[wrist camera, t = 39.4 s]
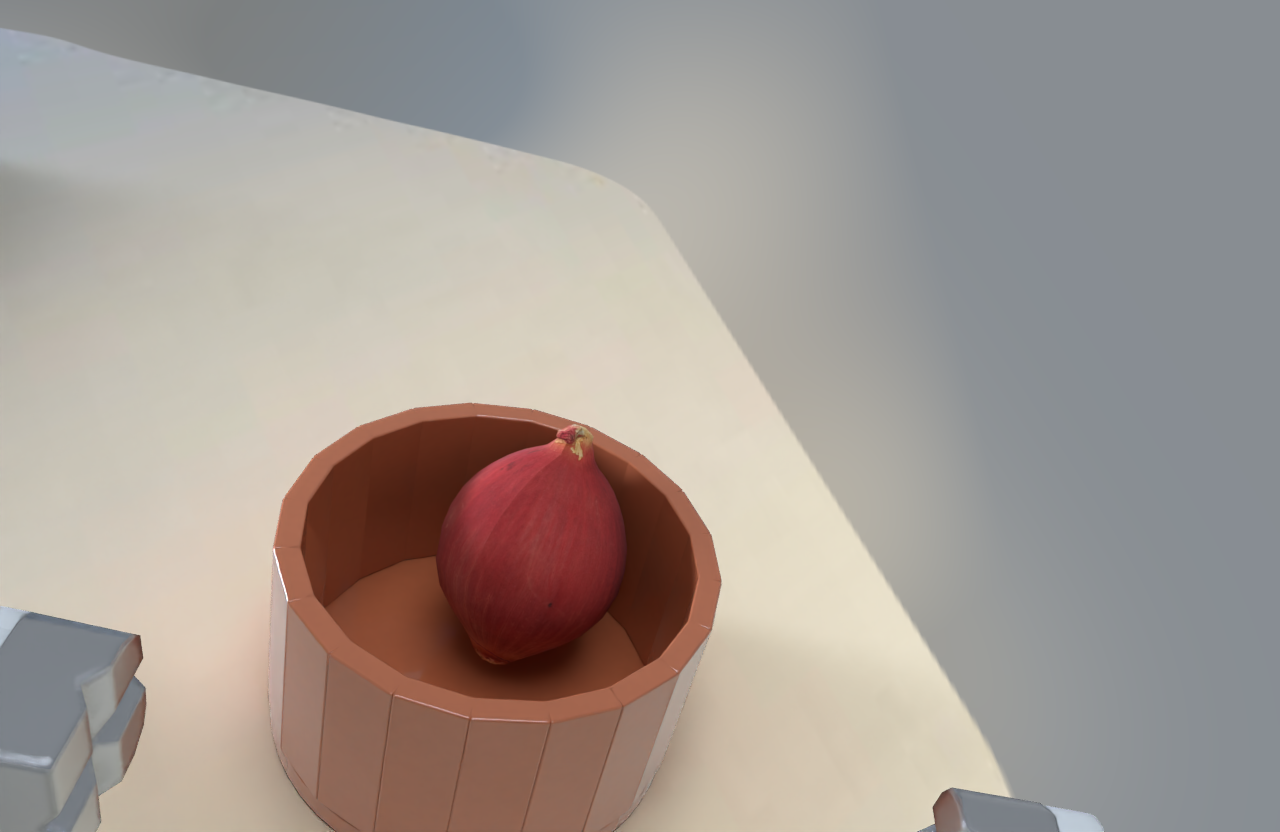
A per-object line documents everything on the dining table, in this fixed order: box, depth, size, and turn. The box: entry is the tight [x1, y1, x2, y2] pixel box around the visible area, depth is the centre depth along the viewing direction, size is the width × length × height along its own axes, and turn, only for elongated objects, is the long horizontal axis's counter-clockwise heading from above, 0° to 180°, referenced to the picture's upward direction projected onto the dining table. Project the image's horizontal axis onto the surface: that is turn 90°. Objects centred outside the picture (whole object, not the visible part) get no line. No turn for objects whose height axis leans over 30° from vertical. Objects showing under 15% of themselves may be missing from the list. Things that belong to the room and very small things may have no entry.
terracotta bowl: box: [268, 403, 721, 832], centre depth 35 cm, size 12×12×7 cm
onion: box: [436, 424, 627, 665], centre depth 36 cm, size 6×6×8 cm
